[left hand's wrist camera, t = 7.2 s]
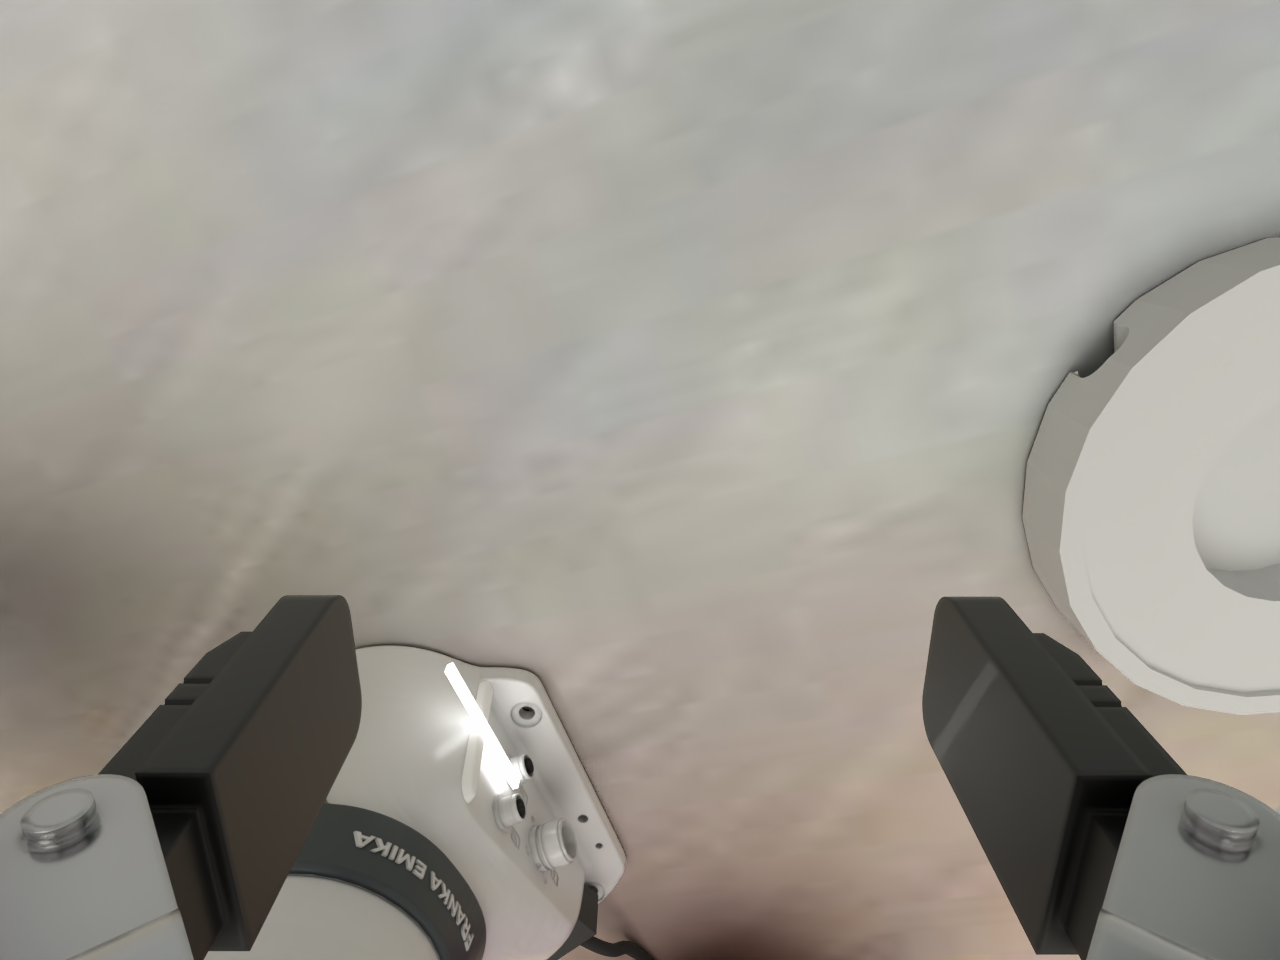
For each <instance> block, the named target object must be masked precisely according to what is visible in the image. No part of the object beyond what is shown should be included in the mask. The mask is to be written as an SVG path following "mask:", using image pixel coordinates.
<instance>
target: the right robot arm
mask: <svg viewBox="0 0 1280 960" xmlns="http://www.w3.org/2000/svg"><path fill="white" fill-rule="evenodd" d="M355 651H356V658H357V665H358V672H359V679H360V686H361V695H362V710H361V719H360V725H359V730H358V733H357V736H356V739H355V741H354V744H353V746H352V748H351V750H350V752H349V754H348V756H347V758H346V760H345V762H344V764H343V766H342V768H341V770H340V772H339V774H338V776H337V778H336V780H335V782H334V784H333V786H332V788H331V790H330V792H329V794H328V796H327V798H326V800H325V802H324V804H323V806H322V808H321V810H320V812H319V814H318V816H317V818H316V820H315V822H314V824H313V826H312V828H311V830H310V832H309V834H308V836H307V838H306V840H305V842H304V844H303V846H302V848H301V850H300V852H299V854H298V856H297V858H296V860H295V862H294V864H293V866H292V868H291V870H290V872H289V874H288V876H287V878H286V880H285V882H284V884H283V886H282V888H281V890H280V892H279V894H278V896H277V898H276V900H275V902H274V904H273V906H272V908H271V910H270V912H269V914H268V916H267V918H266V920H265V922H264V924H263V926H262V928H261V930H260V932H259V934H258V936H257V938H256V940H255V942H254V944H253V946H252V948H251V950H250V951H208V953H207V955H206V957H205V958H204V960H558V959H559V958H561V957H562V956H564V955H565V954H567V953H568V952H570V951H571V950H573V949H574V948H576V947H577V946H579V945H581V946H583V947H585V948H587V949H589V950H591V951H593V952H596V953H598V954H601V955H604V956H609V957H617V956H621V955H623V954H627V955H629V956H631V957H633V958H634V959H636V960H654V959H653V958H652V957H651V956H650V955H649V954H648V953H647V952H646V951H644V950H643V949H642V948H641V947H639V946H637V945H636V944H634V943H632V942H630V941H620V942H617V943H614V944H612V943H608V942H605V941H602V940H600V939H598V938H596V937H594V935H596V929H597V911H598V904H599V903H600V902H601V901H602V900H603V899H604V898H605V897H606V896H607V895H608V894H609V893H610V892H611V891H612V890H613V888H614V887H615V886H616V884H617V883H618V881H619V880H620V878H621V876H622V875H623V873H624V869H625V863H626V856H625V853H624V850H623V848H622V846H621V844H620V842H619V840H618V838H617V836H616V834H615V832H614V830H613V827H612V825H611V823H610V821H609V819H608V817H607V815H606V813H605V811H604V809H603V807H602V805H601V803H600V801H599V799H598V797H597V795H596V793H595V791H594V789H593V787H592V785H591V783H590V781H589V778H588V776H587V774H586V772H585V770H584V768H583V766H582V764H581V762H580V760H579V758H578V756H577V754H576V752H575V750H574V748H573V746H572V744H571V742H570V740H569V738H568V736H567V734H566V731H565V729H564V727H563V725H562V723H561V721H560V719H559V717H558V715H557V713H556V711H555V709H554V707H553V705H552V703H551V701H550V699H549V697H548V695H547V693H546V691H545V689H544V687H543V685H542V683H541V681H540V680H539V678H538V677H537V676H536V675H534V674H533V673H531V672H529V671H526V670H522V669H517V668H504V667H478V666H474V665H470V664H467V663H464V662H462V661H459V660H456V659H454V658H451V657H448V656H446V655H443V654H440V653H437V652H434V651H430V650H426V649H421V648H415V647H408V646H394V645H389V646H372V647H365V648H360V649H355ZM525 706H527V707H531V708H532V709H533V711H525V710H523V709H522V707H525ZM589 886H594V887H589Z"/></svg>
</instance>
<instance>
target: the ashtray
mask: <svg viewBox="0 0 1280 960" xmlns="http://www.w3.org/2000/svg"><path fill="white" fill-rule="evenodd" d="M1022 519H1023V524H1024V529H1025V533H1026V538H1027V542H1028V547H1029V552H1030V556H1031V561H1032V566H1033V569H1034V571H1035V572H1036V574H1037V576H1038V577H1039V579H1040V581H1041V582H1042V584H1043V586H1044V588H1045V589H1046V591H1047V593H1048V594H1049V596H1050V598H1051V599H1052V601H1053V603H1054V605H1055V606H1056V608H1057V610H1058V611H1059V612H1060V613H1061V614H1062V615H1063V616H1064V617H1065V618H1066V619H1067V620H1068V621H1069V622H1070V623H1071V624H1072V625H1073V627H1074V628H1075V629H1076V630H1077V631H1078V632H1079V633H1080V634H1081V635H1082V636H1083V637H1084V638H1085V639H1086V640H1087V641H1088V642H1089V643H1090V644H1091V646H1092V647H1093V648H1094V649H1095V650H1096V651H1097V652H1098V653H1100V654H1101V655H1102V656H1103V657H1104V658H1105V659H1107V660H1108V661H1109V662H1110V663H1111V664H1112V665H1113V666H1115V667H1116V668H1117V669H1118V670H1119V671H1120V672H1121V673H1123V674H1124V675H1125V676H1126V677H1127V678H1128V679H1130V680H1131V681H1132V682H1133V683H1134V684H1135V685H1138V686H1140V687H1142V688H1144V689H1147V690H1149V691H1151V692H1153V693H1156V694H1158V695H1160V696H1162V697H1165V698H1167V699H1169V700H1171V701H1174V702H1176V703H1178V704H1181V705H1183V706H1187V707H1193V708H1199V709H1206V710H1212V711H1218V712H1225V713H1231V714H1238V715H1248V714H1262V713H1276V712H1280V237H1272V238H1265V239H1262V240H1260V241H1257V242H1254V243H1251V244H1248V245H1245V246H1242V247H1239V248H1236V249H1233V250H1230V251H1227V252H1225V253H1222V254H1219V255H1216V256H1213V257H1210V258H1207V259H1204V260H1201V261H1198V262H1197V263H1195V264H1194V265H1192V266H1190V267H1189V268H1187V269H1185V270H1184V271H1182V272H1181V273H1179V274H1177V275H1176V276H1174V277H1172V278H1171V279H1169V280H1168V281H1166V282H1164V283H1163V284H1161V285H1159V286H1158V287H1156V288H1155V289H1153V290H1151V291H1150V292H1148V293H1146V294H1145V295H1143V296H1142V297H1140V298H1138V299H1137V300H1136V301H1135V302H1133V303H1132V304H1131V305H1130V306H1129V307H1128V308H1127V309H1126V310H1125V311H1124V312H1123V313H1122V314H1121V315H1120V316H1119V317H1118V318H1117V319H1116V320H1115V321H1114V354H1113V355H1111V356H1110V357H1109V358H1108V359H1107V360H1106V361H1105V363H1104V364H1103V365H1102V366H1101V367H1100V368H1099V369H1097V370H1096V371H1095V372H1094V373H1092V374H1091V375H1090V376H1087V377H1085V378H1081V377H1080V376H1079V375H1078V371H1076V372H1073V373H1072V372H1069V374H1068V375H1067V377H1066V378H1065V380H1064V381H1063V383H1062V385H1061V386H1060V388H1059V389H1058V391H1057V392H1056V394H1055V395H1054V397H1053V398H1052V400H1051V401H1050V403H1049V404H1048V406H1047V409H1046V412H1045V414H1044V417H1043V420H1042V423H1041V425H1040V428H1039V431H1038V434H1037V436H1036V439H1035V442H1034V445H1033V447H1032V450H1031V453H1030V456H1029V458H1028V461H1027V468H1026V480H1025V492H1024V503H1023V515H1022Z"/></svg>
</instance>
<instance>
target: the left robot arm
mask: <svg viewBox="0 0 1280 960" xmlns="http://www.w3.org/2000/svg"><path fill="white" fill-rule="evenodd" d="M922 707H923V719H924V725H925V730H926V734H927V737H928V740H929V742H930V745H931V747H932V749H933V751H934V753H935V755H936V757H937V759H938V761H939V762H940V764H941V766H942V768H943V770H944V772H945V774H946V776H947V778H948V780H949V782H950V784H951V786H952V788H953V790H954V792H955V794H956V796H957V798H958V800H959V802H960V804H961V806H962V808H963V810H964V812H965V814H966V816H967V818H968V820H969V822H970V824H971V826H972V828H973V830H974V832H975V834H976V836H977V838H978V840H979V842H980V844H981V846H982V848H983V850H984V852H985V854H986V856H987V858H988V860H989V862H990V863H991V865H992V867H993V869H994V871H995V873H996V875H997V877H998V879H999V881H1000V883H1001V885H1002V887H1003V889H1004V891H1005V893H1006V895H1007V897H1008V899H1009V901H1010V903H1011V905H1012V907H1013V909H1014V911H1015V913H1016V915H1017V917H1018V919H1019V921H1020V923H1021V925H1022V927H1023V929H1024V931H1025V933H1026V935H1027V937H1028V939H1029V941H1030V943H1031V945H1032V947H1033V949H1034V951H1035V953H1036V954H1078V955H1079V956H1080V958H1081V960H1280V814H1278V813H1277V812H1276V811H1274V810H1273V809H1271V808H1270V807H1269V806H1267V805H1266V804H1264V803H1262V802H1261V801H1259V800H1257V799H1256V798H1254V797H1252V796H1250V795H1248V794H1246V793H1244V792H1242V791H1240V790H1238V789H1235V788H1233V787H1230V786H1228V785H1225V784H1222V783H1219V782H1216V781H1213V780H1209V779H1205V778H1201V777H1196V776H1189V775H1187V774H1186V773H1185V772H1184V771H1183V770H1182V769H1181V767H1180V766H1179V765H1178V764H1177V763H1176V762H1175V761H1174V760H1173V759H1172V758H1171V756H1170V755H1169V754H1168V753H1167V752H1166V751H1165V750H1164V749H1163V748H1162V746H1161V745H1160V744H1159V743H1158V742H1157V741H1156V740H1155V739H1154V738H1153V736H1152V735H1151V734H1150V733H1149V732H1148V731H1147V730H1146V729H1145V728H1144V727H1143V725H1142V724H1141V723H1140V722H1139V721H1138V720H1137V719H1136V718H1135V717H1134V715H1133V714H1132V713H1131V712H1130V711H1129V710H1128V709H1127V708H1126V707H1122V706H1121V701H1120V700H1119V699H1118V698H1117V697H1116V696H1115V694H1114V693H1113V692H1112V691H1111V690H1110V689H1109V688H1108V687H1107V686H1103V685H1102V680H1101V679H1100V678H1099V677H1098V676H1097V675H1096V673H1095V672H1094V671H1093V670H1092V669H1091V668H1090V667H1089V666H1088V665H1087V663H1086V662H1085V661H1084V660H1083V659H1082V658H1081V657H1080V656H1079V655H1078V654H1076V653H1075V652H1073V651H1072V650H1070V649H1068V648H1067V647H1065V646H1063V645H1062V644H1060V643H1058V642H1057V641H1055V640H1054V639H1052V638H1050V637H1049V636H1047V635H1045V634H1044V633H1032V632H1031V631H1030V630H1029V628H1028V627H1027V626H1026V625H1025V624H1024V622H1023V621H1022V620H1021V619H1020V618H1019V617H1018V615H1017V614H1016V613H1015V612H1014V611H1013V609H1012V608H1011V607H1010V606H1009V605H1008V604H1007V602H1006V601H1005V600H1004V599H1002V598H1001V597H942V598H941V599H940V600H939V602H938V604H937V606H936V609H935V614H934V620H933V627H932V634H931V641H930V648H929V655H928V662H927V669H926V676H925V683H924V690H923V701H922ZM361 710H362V695H361V686H360V679H359V672H358V665H357V658H356V651H355V644H354V637H353V630H352V622H351V615H350V610H349V606H348V603H347V601H346V600H345V598H344V597H343V596H340V595H287V596H284V597H282V598H281V599H280V600H279V601H278V602H277V603H276V605H275V606H274V607H273V608H272V609H271V611H270V612H269V613H268V614H267V615H266V616H265V618H264V619H263V620H262V621H261V622H260V624H259V625H258V626H257V627H256V628H255V630H254V631H253V632H240V633H239V634H237V635H236V636H234V637H232V638H231V639H229V640H227V641H226V642H224V643H223V644H221V645H219V646H218V647H216V648H214V649H213V650H211V651H210V652H208V653H206V655H205V656H204V657H203V658H202V659H201V660H200V661H199V662H198V663H197V665H196V666H195V667H194V668H193V669H192V670H191V671H190V672H189V674H188V675H187V676H186V677H185V678H184V683H183V684H179V685H178V686H177V687H176V688H175V689H174V690H173V691H172V692H171V694H170V695H169V696H168V697H167V698H166V699H165V705H160V706H159V707H158V708H157V709H156V710H155V711H154V713H153V714H152V715H151V716H150V717H149V718H148V719H147V720H146V722H145V723H144V724H143V725H142V726H141V727H140V728H139V729H138V730H137V732H136V733H135V734H134V735H133V736H132V737H131V738H130V739H129V741H128V742H127V743H126V744H125V745H124V746H123V747H122V748H121V749H120V751H119V752H118V753H117V754H116V755H115V756H114V757H113V758H112V760H111V761H110V762H109V763H108V764H107V765H106V766H105V767H104V768H103V770H102V771H101V772H100V773H99V774H98V775H91V776H84V777H79V778H75V779H71V780H67V781H64V782H61V783H58V784H55V785H52V786H50V787H47V788H45V789H42V790H40V791H38V792H36V793H34V794H32V795H30V796H28V797H26V798H24V799H23V800H21V801H19V802H18V803H16V804H14V805H13V806H11V807H10V808H9V809H7V810H6V811H4V812H3V813H2V814H0V960H204V958H205V957H206V955H207V953H208V951H250V950H251V948H252V946H253V944H254V942H255V940H256V938H257V936H258V934H259V932H260V930H261V928H262V926H263V924H264V922H265V920H266V918H267V916H268V914H269V912H270V910H271V908H272V906H273V904H274V902H275V900H276V898H277V896H278V894H279V892H280V890H281V888H282V886H283V884H284V882H285V880H286V878H287V876H288V874H289V872H290V870H291V868H292V866H293V864H294V862H295V860H296V858H297V856H298V854H299V852H300V850H301V848H302V846H303V844H304V842H305V840H306V838H307V836H308V834H309V832H310V830H311V828H312V826H313V824H314V822H315V820H316V818H317V816H318V814H319V812H320V810H321V808H322V806H323V804H324V802H325V800H326V798H327V796H328V794H329V792H330V790H331V788H332V786H333V784H334V782H335V780H336V778H337V776H338V774H339V772H340V770H341V768H342V766H343V764H344V762H345V760H346V758H347V756H348V754H349V752H350V750H351V748H352V746H353V744H354V741H355V739H356V736H357V733H358V730H359V725H360V719H361Z"/></svg>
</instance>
